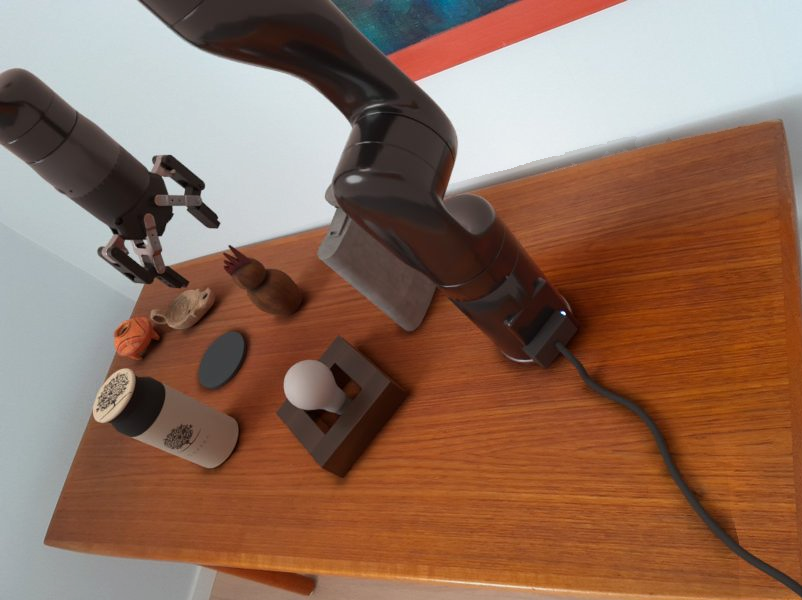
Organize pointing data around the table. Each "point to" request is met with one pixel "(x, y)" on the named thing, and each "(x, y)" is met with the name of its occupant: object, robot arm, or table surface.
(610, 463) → the table surface
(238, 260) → the wooden figurine
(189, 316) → the oil lamp
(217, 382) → the coaster
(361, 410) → the bulb stand
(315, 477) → the table surface
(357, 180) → the robot arm
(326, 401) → the lightbulb
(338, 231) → the hip flask
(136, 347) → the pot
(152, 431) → the travel mug
